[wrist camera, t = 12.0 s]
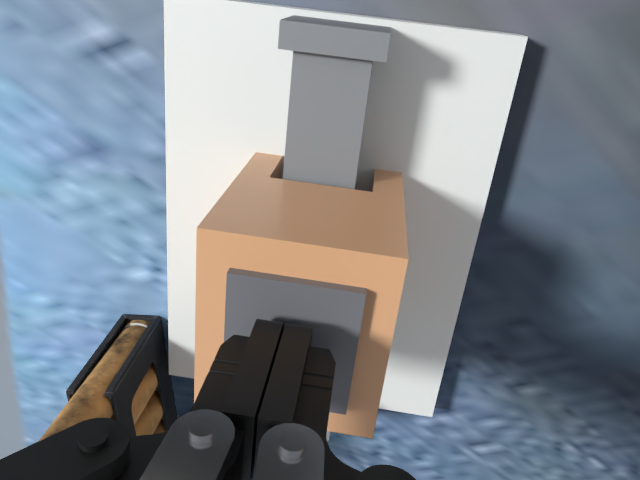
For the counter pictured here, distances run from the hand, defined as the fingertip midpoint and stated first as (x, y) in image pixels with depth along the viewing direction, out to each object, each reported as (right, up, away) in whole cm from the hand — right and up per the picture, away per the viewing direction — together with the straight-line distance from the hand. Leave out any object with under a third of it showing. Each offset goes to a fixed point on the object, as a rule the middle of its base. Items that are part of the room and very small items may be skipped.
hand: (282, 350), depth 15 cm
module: (+1, +3, +7) cm, 8 cm away
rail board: (+1, +4, +8) cm, 9 cm away
